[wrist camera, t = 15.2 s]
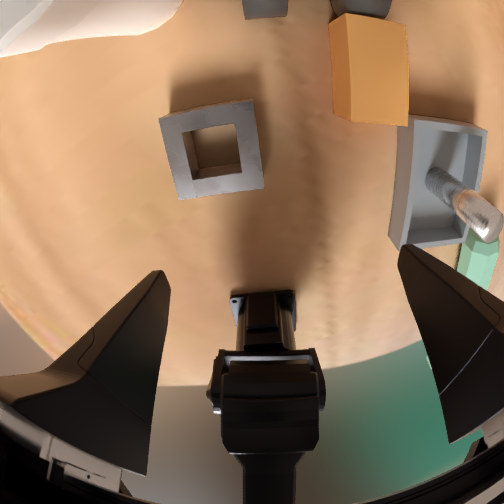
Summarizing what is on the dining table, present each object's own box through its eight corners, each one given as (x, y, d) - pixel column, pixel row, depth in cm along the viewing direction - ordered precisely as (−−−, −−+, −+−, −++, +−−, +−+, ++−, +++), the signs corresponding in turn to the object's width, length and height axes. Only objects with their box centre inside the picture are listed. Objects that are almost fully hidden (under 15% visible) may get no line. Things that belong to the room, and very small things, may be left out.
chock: (382, 116, 17) (407, 126, 14) (332, 113, 17) (351, 121, 14) (379, 31, 13) (405, 25, 9) (327, 24, 13) (345, 13, 10)
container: (495, 254, 17) (441, 379, 30) (513, 229, 18) (463, 357, 31) (450, 227, 22) (419, 357, 35) (474, 207, 22) (441, 337, 36)
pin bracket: (263, 176, 20) (264, 188, 18) (186, 187, 20) (179, 200, 18) (252, 98, 16) (252, 100, 14) (169, 113, 17) (158, 118, 15)
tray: (452, 228, 22) (464, 242, 20) (387, 235, 23) (398, 251, 21) (469, 123, 16) (487, 130, 14) (397, 113, 16) (414, 119, 14)
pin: (442, 191, 19) (497, 241, 13) (423, 192, 20) (478, 244, 13) (446, 167, 18) (507, 211, 11) (427, 166, 18) (488, 212, 12)
